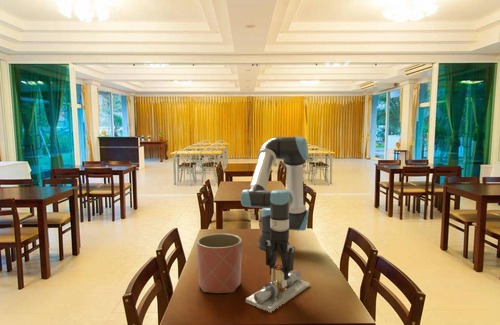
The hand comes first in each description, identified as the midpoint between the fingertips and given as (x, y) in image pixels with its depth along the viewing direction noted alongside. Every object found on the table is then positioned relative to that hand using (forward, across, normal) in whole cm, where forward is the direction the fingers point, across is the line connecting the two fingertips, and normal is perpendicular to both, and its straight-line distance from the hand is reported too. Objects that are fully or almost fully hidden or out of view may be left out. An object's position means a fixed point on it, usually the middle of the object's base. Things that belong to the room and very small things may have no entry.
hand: (279, 284), depth 137 cm
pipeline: (+4, 0, 0) cm, 4 cm away
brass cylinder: (+2, 0, 0) cm, 2 cm away
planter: (+4, -24, -10) cm, 26 cm away
